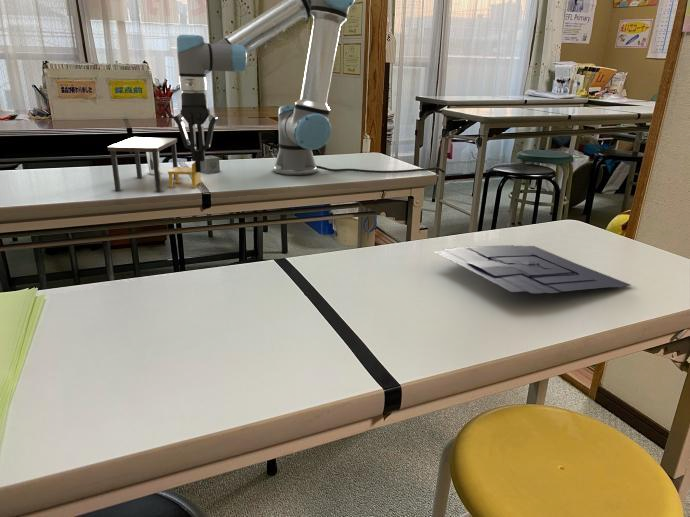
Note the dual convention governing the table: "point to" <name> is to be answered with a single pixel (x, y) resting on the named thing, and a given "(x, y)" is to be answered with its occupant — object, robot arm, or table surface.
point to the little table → (139, 146)
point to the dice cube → (211, 164)
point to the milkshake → (150, 161)
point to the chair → (187, 171)
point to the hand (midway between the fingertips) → (199, 171)
